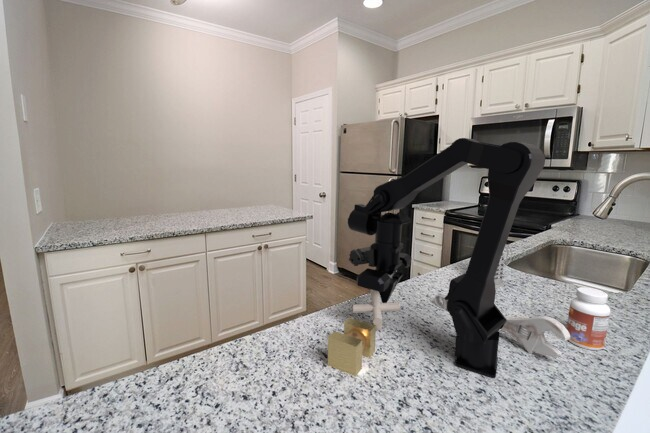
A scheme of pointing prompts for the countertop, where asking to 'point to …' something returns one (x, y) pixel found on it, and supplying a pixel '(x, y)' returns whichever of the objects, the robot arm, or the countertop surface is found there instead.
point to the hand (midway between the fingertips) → (384, 302)
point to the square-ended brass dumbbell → (351, 346)
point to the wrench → (529, 331)
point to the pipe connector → (376, 308)
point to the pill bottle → (588, 318)
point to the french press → (501, 271)
